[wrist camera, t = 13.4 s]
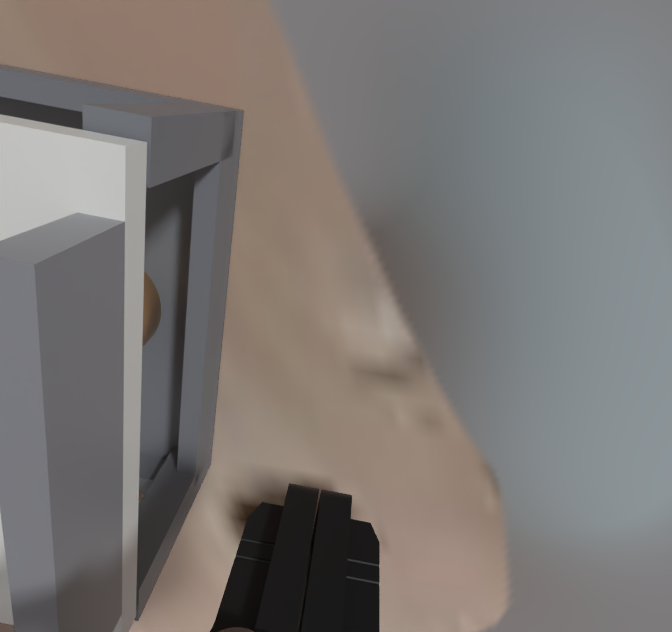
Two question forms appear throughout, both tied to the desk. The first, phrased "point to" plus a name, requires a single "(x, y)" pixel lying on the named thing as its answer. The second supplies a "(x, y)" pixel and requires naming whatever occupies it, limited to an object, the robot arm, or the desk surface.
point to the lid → (70, 375)
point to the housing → (163, 276)
